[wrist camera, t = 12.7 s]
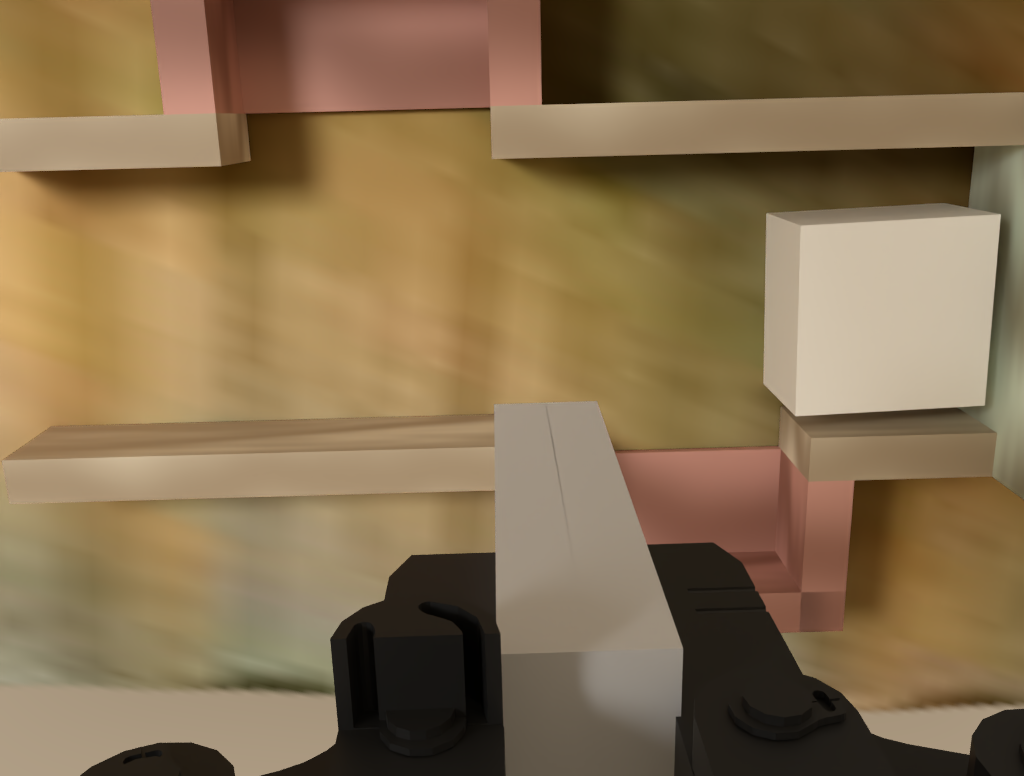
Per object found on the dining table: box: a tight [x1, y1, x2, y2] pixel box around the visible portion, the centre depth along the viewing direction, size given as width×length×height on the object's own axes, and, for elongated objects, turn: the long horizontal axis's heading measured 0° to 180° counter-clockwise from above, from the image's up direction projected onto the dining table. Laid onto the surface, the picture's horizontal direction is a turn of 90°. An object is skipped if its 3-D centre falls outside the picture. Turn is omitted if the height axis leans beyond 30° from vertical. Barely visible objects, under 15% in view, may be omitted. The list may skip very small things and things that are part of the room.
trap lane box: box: [0, 0, 1024, 633], centre depth 30 cm, size 23×34×6 cm
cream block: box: [764, 203, 1001, 416], centre depth 31 cm, size 6×6×4 cm
